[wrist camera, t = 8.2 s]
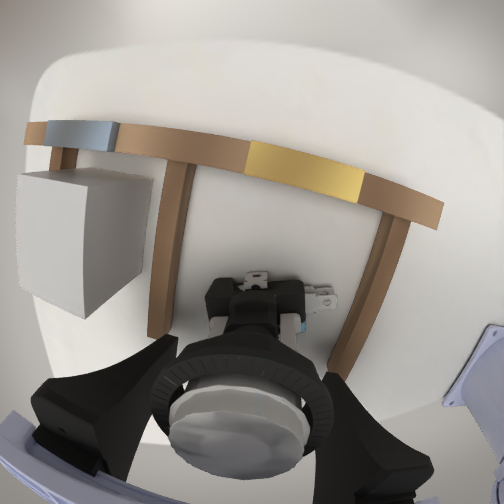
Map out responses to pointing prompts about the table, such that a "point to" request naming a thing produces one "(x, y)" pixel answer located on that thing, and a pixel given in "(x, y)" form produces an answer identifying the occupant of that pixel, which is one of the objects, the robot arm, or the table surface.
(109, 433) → the robot arm
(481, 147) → the table surface
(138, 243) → the grey plug block
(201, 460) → the push button
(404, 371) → the table surface
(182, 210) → the wooden bench frame
